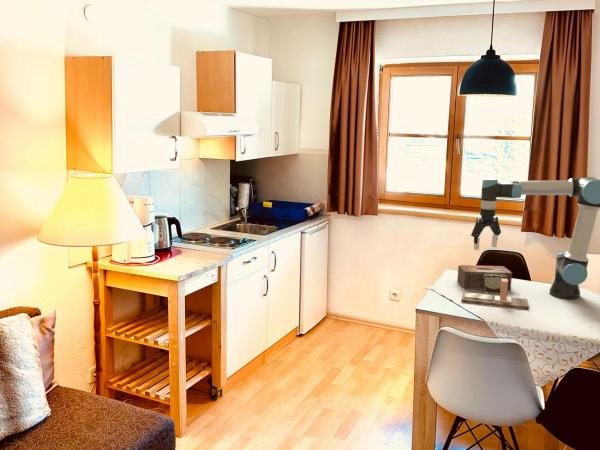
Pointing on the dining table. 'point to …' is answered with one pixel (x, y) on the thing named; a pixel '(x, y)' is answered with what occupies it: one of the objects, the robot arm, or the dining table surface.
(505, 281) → the stub
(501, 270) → the tissue box cover
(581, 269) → the robot arm
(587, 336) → the dining table surface
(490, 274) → the food container
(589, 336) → the dining table surface
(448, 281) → the dining table surface
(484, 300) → the ticket board
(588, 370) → the dining table surface
